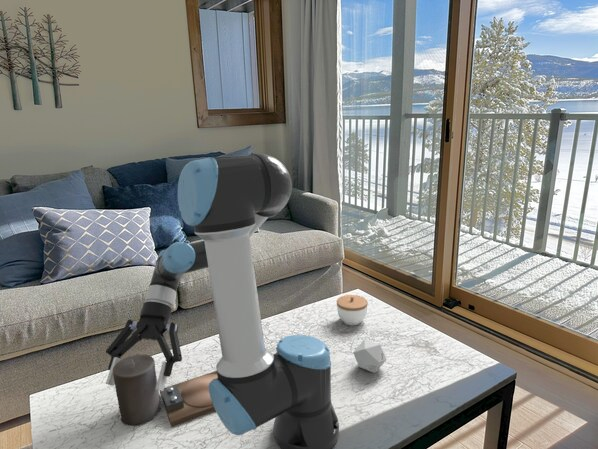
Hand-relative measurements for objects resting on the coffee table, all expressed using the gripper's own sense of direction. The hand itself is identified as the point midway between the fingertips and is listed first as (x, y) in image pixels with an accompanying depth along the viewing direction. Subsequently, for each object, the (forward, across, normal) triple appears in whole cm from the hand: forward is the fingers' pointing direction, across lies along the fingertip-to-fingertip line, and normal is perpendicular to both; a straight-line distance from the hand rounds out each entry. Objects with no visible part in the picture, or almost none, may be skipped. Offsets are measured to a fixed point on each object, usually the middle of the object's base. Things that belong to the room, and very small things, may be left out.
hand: (134, 387), depth 102 cm
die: (-14, -57, -25) cm, 64 cm away
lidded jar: (-33, -50, -44) cm, 74 cm away
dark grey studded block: (-2, -15, -11) cm, 18 cm away
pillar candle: (+5, 0, -6) cm, 8 cm away
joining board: (-1, -15, -12) cm, 19 cm away
